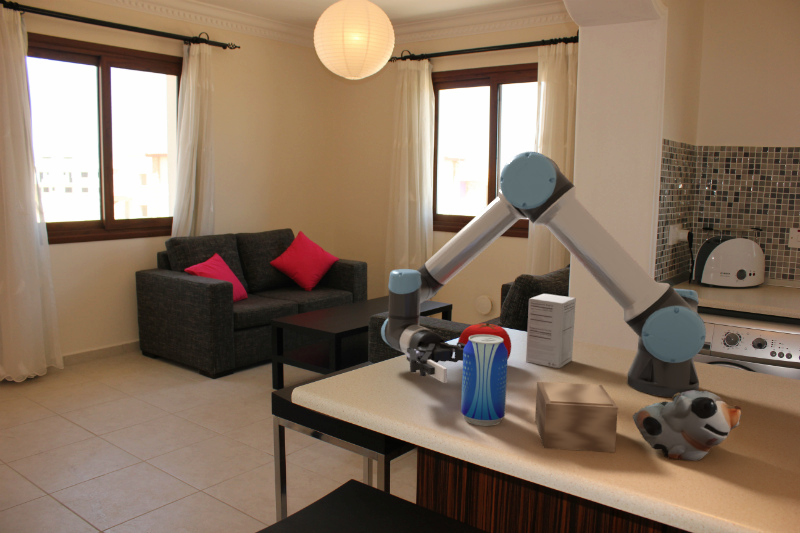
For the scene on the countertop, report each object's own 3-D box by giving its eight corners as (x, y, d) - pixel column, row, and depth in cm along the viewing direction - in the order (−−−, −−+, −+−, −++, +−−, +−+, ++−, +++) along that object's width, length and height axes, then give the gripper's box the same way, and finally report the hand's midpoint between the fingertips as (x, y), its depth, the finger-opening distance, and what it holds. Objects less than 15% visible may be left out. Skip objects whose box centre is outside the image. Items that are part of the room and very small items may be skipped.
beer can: (503, 429, 115) (507, 345, 113) (458, 425, 117) (461, 342, 115) (505, 413, 123) (509, 334, 121) (463, 409, 125) (466, 331, 123)
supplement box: (539, 354, 167) (543, 292, 165) (572, 360, 162) (576, 297, 160) (524, 362, 160) (528, 297, 158) (559, 369, 154) (563, 302, 152)
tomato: (499, 376, 147) (501, 331, 146) (450, 367, 154) (451, 323, 152) (517, 364, 157) (520, 322, 156) (470, 356, 164) (472, 315, 162)
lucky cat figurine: (686, 429, 117) (731, 375, 111) (718, 481, 107) (770, 425, 100) (619, 411, 114) (662, 355, 107) (646, 463, 103) (695, 403, 97)
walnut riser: (598, 425, 118) (601, 383, 117) (614, 452, 106) (618, 406, 105) (534, 421, 119) (537, 380, 118) (543, 448, 107) (546, 402, 106)
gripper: (469, 355, 146) (525, 382, 127) (372, 367, 134) (418, 398, 116) (470, 324, 145) (527, 346, 126) (372, 333, 133) (419, 359, 115)
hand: (475, 371), depth 121 cm, fingers open, 13 cm apart
